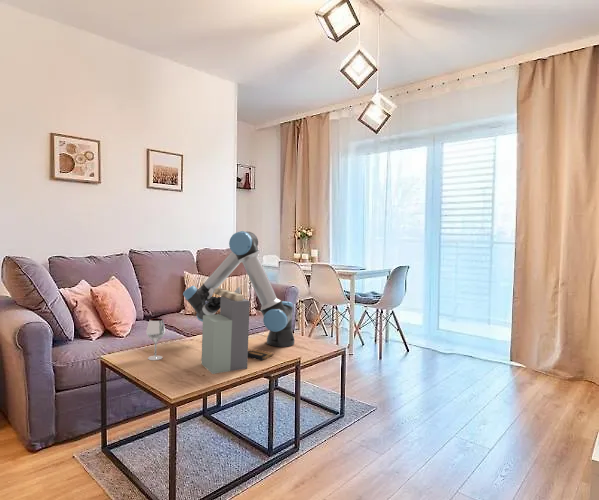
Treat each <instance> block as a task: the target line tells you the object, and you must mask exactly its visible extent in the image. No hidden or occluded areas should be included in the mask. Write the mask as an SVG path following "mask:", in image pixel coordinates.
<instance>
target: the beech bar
mask: <svg viewBox="0 0 599 500" xmlns="http://www.w3.org/2000/svg"><path fill="white" fill-rule="evenodd" d="M213 295H217V296H219V297H221V296H223V297H226V298H229V299H232V300H235V301H243V298H244V294H241V293H240V294H238V293H235V292H234V291H231V290H227V289H225V288H221V287H220V288H219V287H218V288H215V291H214V293H213Z"/></svg>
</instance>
